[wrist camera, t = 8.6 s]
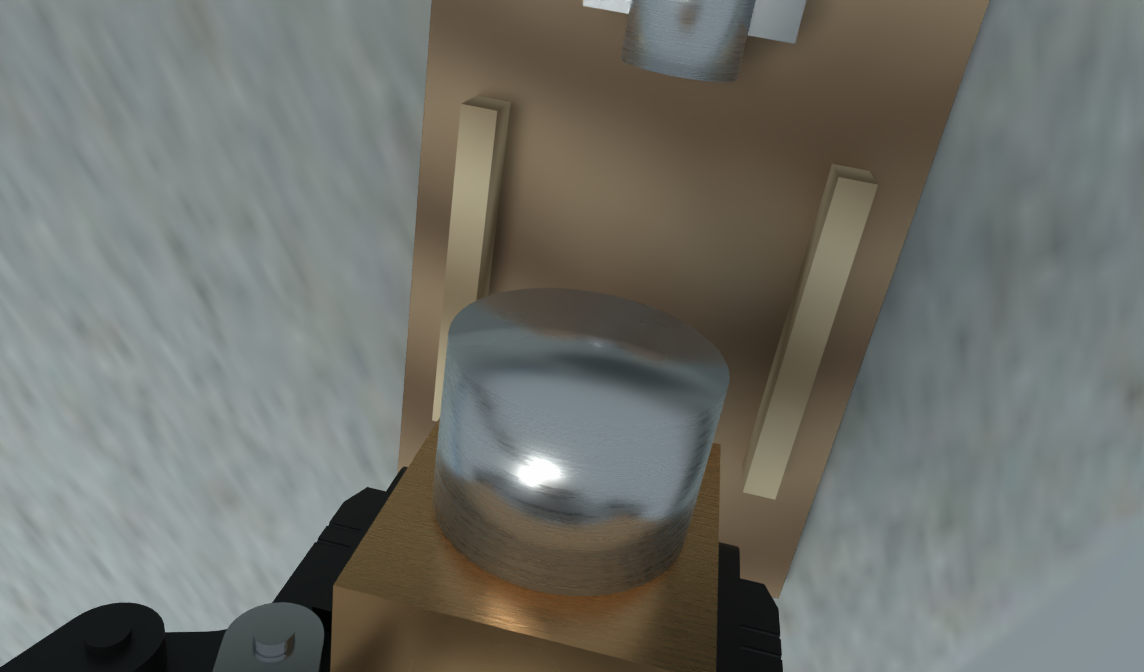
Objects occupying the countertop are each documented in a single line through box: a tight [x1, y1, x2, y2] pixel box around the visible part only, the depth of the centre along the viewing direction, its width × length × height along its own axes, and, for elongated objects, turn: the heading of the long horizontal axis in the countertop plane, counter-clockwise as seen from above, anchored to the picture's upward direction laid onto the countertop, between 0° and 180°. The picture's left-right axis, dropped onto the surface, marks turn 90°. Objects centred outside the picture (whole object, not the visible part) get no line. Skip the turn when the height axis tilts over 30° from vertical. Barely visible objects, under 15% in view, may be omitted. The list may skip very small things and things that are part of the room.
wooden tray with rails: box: [398, 0, 990, 599], centre depth 25 cm, size 20×14×2 cm
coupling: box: [330, 288, 730, 672], centre depth 13 cm, size 10×4×5 cm, turn 171°
